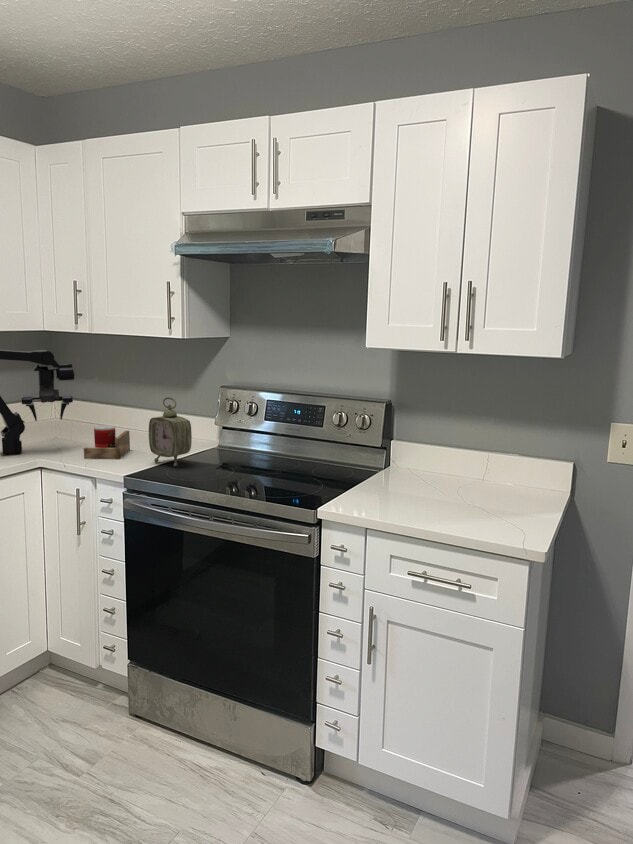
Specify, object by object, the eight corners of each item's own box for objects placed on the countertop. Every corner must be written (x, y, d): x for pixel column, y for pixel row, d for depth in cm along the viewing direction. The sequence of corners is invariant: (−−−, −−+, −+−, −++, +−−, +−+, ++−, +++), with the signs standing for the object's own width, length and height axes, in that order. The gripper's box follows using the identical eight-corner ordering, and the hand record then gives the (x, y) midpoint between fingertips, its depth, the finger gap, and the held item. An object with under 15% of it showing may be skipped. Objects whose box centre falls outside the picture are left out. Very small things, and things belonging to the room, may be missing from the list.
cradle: (84, 458, 245) (83, 438, 244) (96, 449, 261) (95, 430, 260) (119, 458, 246) (119, 438, 244) (129, 449, 262) (129, 430, 260)
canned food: (112, 456, 249) (111, 428, 248) (92, 456, 249) (91, 428, 248) (118, 452, 257) (117, 425, 255) (98, 451, 257) (97, 425, 255)
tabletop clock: (149, 462, 241) (147, 396, 236) (167, 458, 248) (166, 394, 244) (175, 468, 232) (174, 400, 228) (194, 464, 240) (193, 397, 235)
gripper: (20, 384, 244) (22, 425, 247) (72, 383, 251) (74, 422, 254) (21, 381, 254) (23, 420, 257) (71, 380, 261) (73, 418, 264)
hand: (48, 420), depth 258 cm, fingers open, 9 cm apart
